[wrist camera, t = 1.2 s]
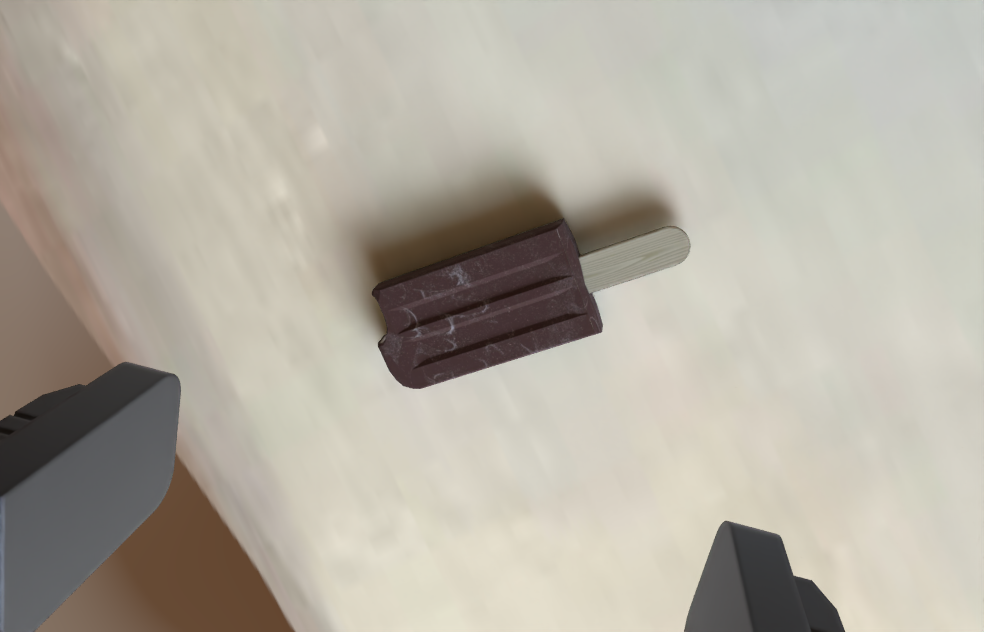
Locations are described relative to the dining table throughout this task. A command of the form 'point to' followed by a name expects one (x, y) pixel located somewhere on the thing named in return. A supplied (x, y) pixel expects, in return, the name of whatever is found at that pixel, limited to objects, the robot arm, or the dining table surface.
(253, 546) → the dining table surface
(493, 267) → the ice cream bar
